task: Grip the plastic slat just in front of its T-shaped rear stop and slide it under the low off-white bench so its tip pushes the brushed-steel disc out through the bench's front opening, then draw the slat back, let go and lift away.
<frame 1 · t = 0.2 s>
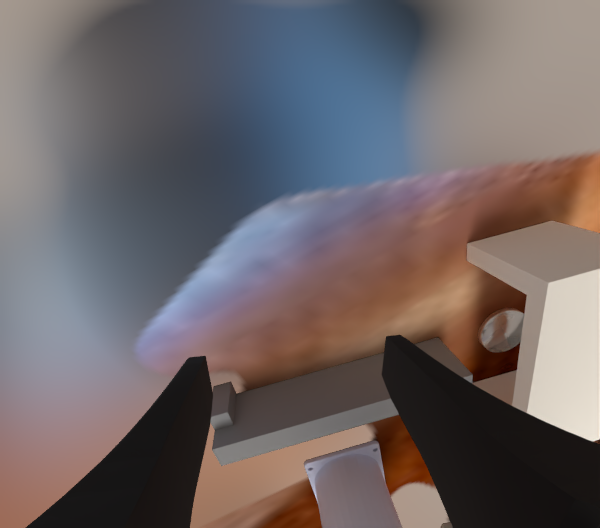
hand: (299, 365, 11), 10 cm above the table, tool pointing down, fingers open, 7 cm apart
skincare box: (461, 526, 40), on the table
low bench: (501, 319, 25), on the table
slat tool: (332, 375, 25), on the table
steel disc: (497, 326, 26), on the table
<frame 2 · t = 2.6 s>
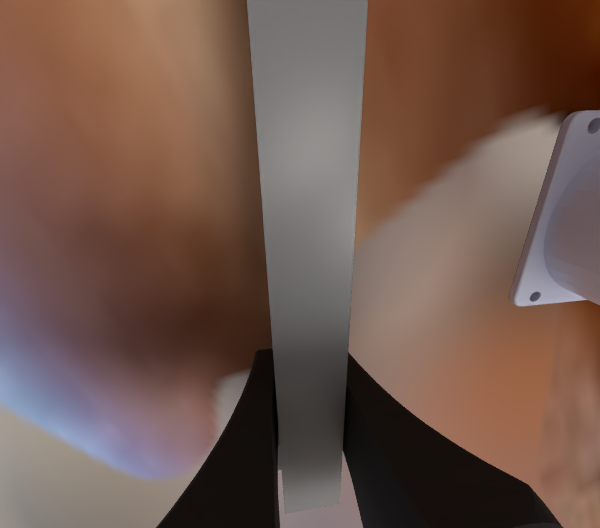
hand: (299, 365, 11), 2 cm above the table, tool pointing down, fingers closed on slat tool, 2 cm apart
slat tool: (289, 207, 10), on the table, touching gripper
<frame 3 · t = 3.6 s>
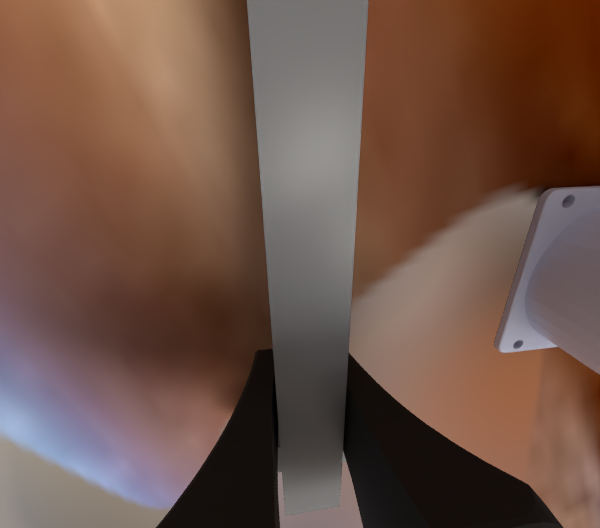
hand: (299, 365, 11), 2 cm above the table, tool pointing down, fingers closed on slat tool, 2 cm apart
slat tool: (290, 210, 10), on the table, touching gripper
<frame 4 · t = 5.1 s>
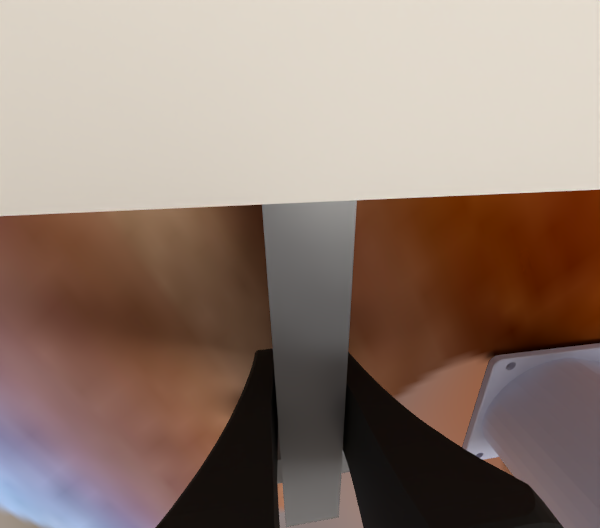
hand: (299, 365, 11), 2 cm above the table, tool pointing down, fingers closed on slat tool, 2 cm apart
low bench: (252, 41, 8), on the table
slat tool: (290, 229, 11), on the table, touching gripper
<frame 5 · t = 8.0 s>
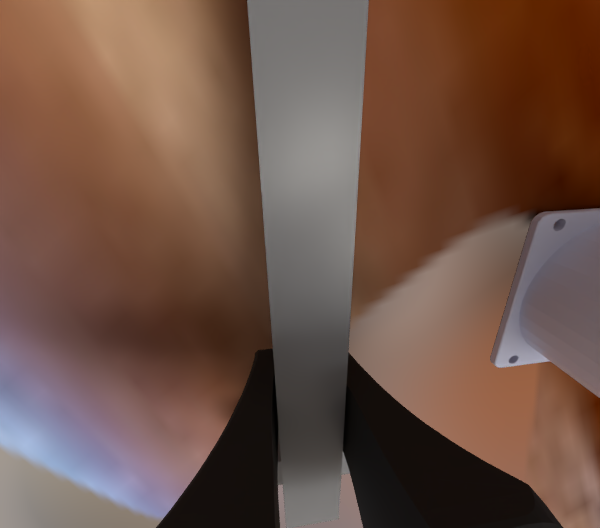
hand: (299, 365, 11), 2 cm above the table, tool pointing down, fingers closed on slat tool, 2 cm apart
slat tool: (290, 232, 11), on the table, touching gripper
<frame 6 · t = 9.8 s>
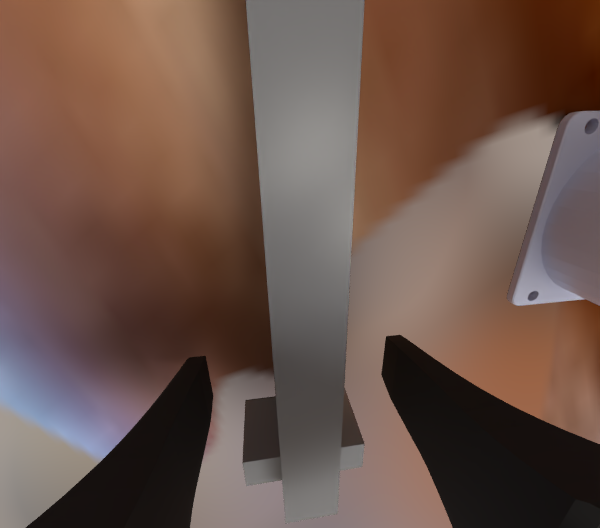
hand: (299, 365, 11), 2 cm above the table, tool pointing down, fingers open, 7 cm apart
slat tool: (289, 230, 11), on the table
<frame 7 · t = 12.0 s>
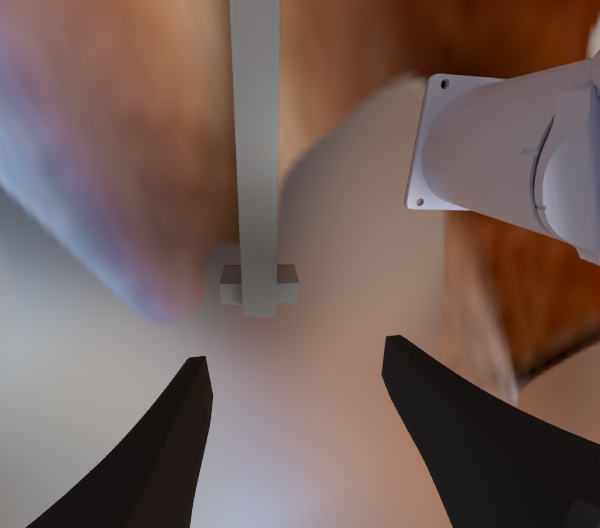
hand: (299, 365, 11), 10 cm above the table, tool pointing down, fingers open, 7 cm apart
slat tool: (258, 137, 17), on the table
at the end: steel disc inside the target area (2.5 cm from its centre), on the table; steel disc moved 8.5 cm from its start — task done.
